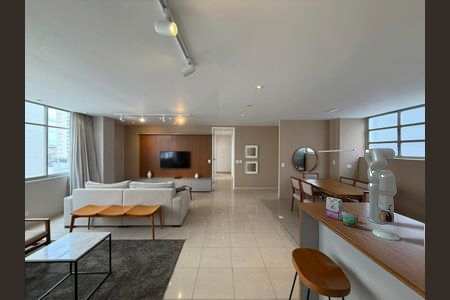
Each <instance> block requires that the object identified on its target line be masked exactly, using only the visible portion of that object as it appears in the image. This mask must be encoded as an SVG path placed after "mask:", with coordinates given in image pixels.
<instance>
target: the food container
mask: <svg viewBox="0 0 450 300" xmlns="http://www.w3.org/2000/svg"><path fill="white" fill-rule="evenodd" d="M344 210H345V209H342V213H341V214H342V225H344V226H345V227H347V228H352V229H355V228H358V221H359V218H360V216H359V214H355V213H353V212H348V211H344Z"/></svg>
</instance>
